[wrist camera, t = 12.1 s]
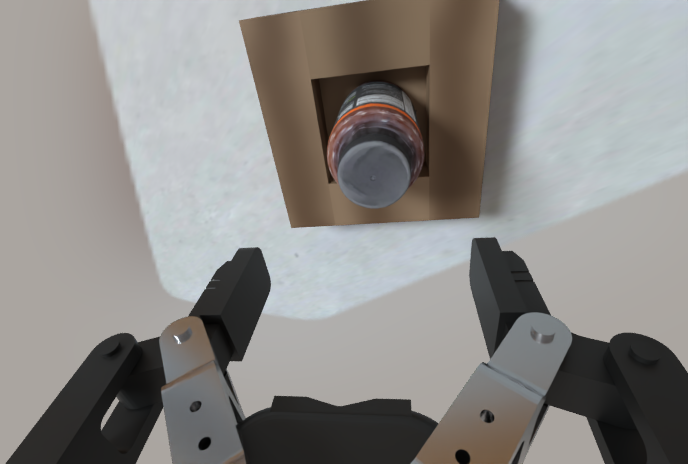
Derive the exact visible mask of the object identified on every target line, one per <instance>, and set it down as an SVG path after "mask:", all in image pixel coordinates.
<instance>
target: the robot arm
mask: <svg viewBox="0 0 688 464" xmlns="http://www.w3.org/2000/svg"><path fill="white" fill-rule="evenodd" d="M469 276H470V286H471V290H472V294H473V298H474V301H475V305H476V308H477V312H478V316H479V320H480V323H481V327H482V331H483V334H484V338H485V341H486V345H487V349H488V353H489V356H490V361H489V362H488V363H487V364H486V363H484V362H483V363H481V364H480V365H479V366H478V367H477V368H476V370H475V371H474V373H473V374H472V376H471V377H470V379H469V380H468V382H467V383H466V384H465V386H464V387H463V389H462V390H461V392H460V393H459V395H458V396H457V398H456V399H455V400H454V402H453V404H452V405H451V406H450V408H449V409H448V411H447V412H446V414H445V415H444V417H443V418H442V420H441V421H440V422H439V424H438V423H437V422H436V421H434V420H432V419H431V418H428V417H427V416H425V415H422V414H420V413H417V412H414V411H411V400H403V399H402V400H401V399H372V400H368V401H363V402H359V403H355V404H350V405H346V406H334V405H331V404H328V403H325V402H321V401H318V400H315V399H312V398H309V397H293V396H274V399H273V402H272V406H271V407H270V408H266V409H264V410H261V411H258V412H256V413H254V414H252V415H251V416H249V417H247V418H245V416H244V414H243V411H242V408H241V406H240V403H239V400H238V397H237V394H236V392H235V389H234V386H233V384H232V381H231V378H230V375H229V373H228V371H227V366H228V364H229V362H230V361H242V359H243V357H244V355H245V352H246V349H247V347H248V345H249V342H250V340H251V337H252V335H253V332H254V330H255V327H256V324H257V322H258V320H259V317H260V315H261V312H262V310H263V307H264V305H265V302H266V300H267V297H268V295H269V292H270V287H271V281H270V276H269V273H268V270H267V267H266V263H265V260H264V257H263V254H262V251H261V249H260V248H258V247H256V248H240V249H238V251H237V252H236V254H235V256H234V257H233V259H232V261H227V262H226V263H225V264H223V265H222V266H221V267H220V268H219V269H218V270H217V271H216V272H215V274H214V276H213V277H212V279H211V281H210V282H209V284H208V285H207V287H206V289H205V290H204V292H203V293H202V295H201V296H200V298H199V300H198V301H197V303H196V304H195V306H194V308H193V309H192V311H191V313H190V314H189V316H188V317H184V318H181V319H178V320H176V321H174V322H173V323H171V325H169V326H168V327H167V328H166V329H165V330H164V331H163V332H162V334H161V336H160V337H157V338H153V339H149V340H145V341H141V342H137V341H136V339H135V338H134V336H132V335H131V334H129V333H120V334H117V335H114V336H111V337H110V338H107V339H105V340H104V341H102V342H101V343H100V344H99V345H97V346H96V347H95V348H94V349H93V351H92V352H91V353H90V354H89V356H88V357H87V358H86V360H85V361H84V362H83V363H82V365H81V366H80V367H79V369H78V370H77V371H76V372H75V374H74V375H73V377H72V378H71V379H70V380H69V382H68V383H67V384H66V386H65V387H64V388H63V389H62V391H61V392H60V393H59V395H58V396H57V397H56V399H55V400H54V401H53V402H52V404H51V405H50V406H49V408H48V409H47V410H46V412H45V413H44V414H43V415H42V417H41V418H40V420H39V421H38V422H37V423H36V425H35V426H34V427H33V428H32V430H31V431H30V432H29V434H28V435H27V436H26V438H25V439H24V440H23V442H22V443H21V444H20V445H19V447H18V448H17V449H16V451H15V452H14V453H13V455H12V456H11V457H10V458H9V460H8V461H7V462H6V464H136V462H137V460H138V458H139V455H140V454H141V451H142V449H143V447H144V445H145V443H146V441H147V439H148V437H149V435H150V433H151V431H152V429H153V427H154V425H155V423H156V421H157V419H158V417H159V415H160V413H161V411H162V409H163V407H164V413H165V419H166V426H167V431H168V438H169V445H170V451H171V457H172V463H173V464H523V462H524V459H525V457H526V455H527V453H528V450H529V448H530V446H531V444H532V442H533V440H534V438H535V436H536V434H537V431H538V429H539V427H540V425H541V423H542V421H543V419H544V417H545V415H546V412H547V410H548V408H549V406H554V407H557V408H560V409H563V410H566V411H569V412H573V413H576V414H579V415H582V416H585V417H587V420H588V422H589V425H590V427H591V430H592V432H593V435H594V437H595V440H596V443H597V445H598V448H599V450H600V453H601V455H602V458H603V460H604V463H605V464H688V373H687V371H686V370H685V368H684V367H683V366H682V364H681V363H680V361H679V360H678V358H677V357H676V356H675V354H674V353H673V352H672V351H671V350H670V349H669V348H667V347H666V346H665V345H663V344H662V343H660V342H659V341H657V340H655V339H653V338H650V337H647V336H644V335H641V334H636V333H621V334H618V335H615V336H614V337H613V338H612V339H611V340H610V343H607V342H603V341H599V340H594V339H590V338H586V337H582V336H578V335H576V334H573V333H571V332H570V330H569V329H568V327H567V326H566V325H565V324H564V323H563V322H561V321H560V320H559V319H557V318H555V317H553V316H551V314H550V312H549V311H548V309H547V306H546V304H545V302H544V300H543V298H542V296H541V294H540V292H539V291H538V288H537V286H536V284H535V282H533V278H532V276H531V274H530V273H529V270H528V268H527V266H526V264H525V262H524V260H522V258H520V257H519V256H518V255H517V254H515V253H514V252H513V251H502V250H501V248H500V246H499V243H498V241H497V239H496V238H495V237H493V238H473V240H472V247H471V259H470V274H469ZM115 397H117V398H118V399H119V402H118V404H117V406H116V407H115V409H114V411H113V412H112V414H111V416H110V417H109V419H108V421H107V422H106V424H105V426H104V427H103V429H102V431H101V422H102V419H103V417H104V415H105V414H106V412H107V410H108V409H109V407H110V406H111V404H112V402H113V401H114V399H115Z"/></svg>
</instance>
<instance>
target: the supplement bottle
mask: <svg viewBox="0 0 688 464" xmlns="http://www.w3.org/2000/svg"><path fill="white" fill-rule="evenodd" d="M416 111H417V110H416ZM416 111H415V109H414V106H413V104H412V102H411V100H410V98H409V97H408V95H407V94H406V93H405V91H403V90H402V89H401V88H400V87H399V86H397V85H396V84H393V83H391V82H388V81H383V80H375V81H369V82H365V83H363V84H361V85H359V86H358V87H356V88H355V89H354V90H353V91H351V93H350V94H349V95H348V96H347V98H346V99H345V101H344V102H343V104H342V106H341V109H340V112H339V114H338V117H337V119H336V122H335V124H334V127H333V129H332V132H331V135H330V138H329V141H328V146H327V161H328V166H329V169H330V172H331V174H332V176H333V178H334V180H335V181H336V182H337V184H338V185H339V186H340V189H341V190H342V192H343V193H344V195H345V196H346V197H347V198H348V199H349V200H350V201H352V202H353V203H355V204H357V205H359V206H362V207H365V208H371V209H373V208H374V209H377V208H384V207H387V206H390V205H391V204H393V203H395V202H397V201H398V200H399V199H400V198H401V197H402V196H403V195H404V194H405V192H406V191H407V189H408V188H409V187H411V186H412V185H413V183H414V182H415V181H416V179H417V177H418V175H419V174H420V171H421V169H422V166H423V162H424V144H423V138H422V135H421V131H420V128H419V123H418V120H417V116H416Z"/></svg>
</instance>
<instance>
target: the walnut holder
mask: <svg viewBox="0 0 688 464" xmlns="http://www.w3.org/2000/svg"><path fill="white" fill-rule="evenodd" d="M498 11H499V0H365V1H359V2H353V3H346V4H340V5H333V6H327V7H320V8H314V9H307V10H301V11H294V12H288V13H281V14H275V15H268V16H262V17H256V18H251V19H245V20H240V21H239V23H240V27H241V31H242V35H243V39H244V42H245V46H246V50H247V54H248V58H249V62H250V66H251V70H252V74H253V78H254V82H255V86H256V90H257V94H258V98H259V102H260V106H261V110H262V114H263V118H264V121H265V125H266V129H267V133H268V137H269V141H270V145H271V149H272V153H273V157H274V161H275V165H276V169H277V173H278V177H279V181H280V185H281V189H282V193H283V197H284V201H285V204H286V208H287V212H288V216H289V220H290V224H291V228H298V227H316V226H334V225H352V224H370V223H388V222H406V221H424V220H442V219H460V218H478V217H479V212H480V202H481V191H482V180H483V170H484V159H485V149H486V138H487V127H488V117H489V106H490V96H491V85H492V74H493V64H494V53H495V43H496V32H497V21H498ZM375 80H383V81H388V82H391V83H393V84H396V85H397V86H399V87H400V88H401V89H402V90H403V91H405V93H406V94H407V95H408V97H409V98H410V100H411V102H412V104H413V106H414V109H415V111H416V110H417V111H416V116H417V120H418V123H419V128H420V131H421V135H422V138H423V144H424V162H423V166H422V169H421V171H420V174H419V175H418V177H417V179H416V181H415V182H414V183H413V185H412V186H411V187H409V188H408V189H407V191H406V192H405V194H404V195H403V196H402V197H401V198H400V199H399V200H398V201H397V202H395V203H393V204H391V205H390V206H387V207H384V208H377V209H374V208H373V209H371V208H365V207H362V206H359V205H357V204H355V203H353V202H352V201H350V200H349V199H348V198H347V197H346V196H345V195H344V193H343V192H342V190H341V189H340V186H339V185H338V184H337V182H336V181H335V180H334V178H333V176H332V174H331V172H330V169H329V166H328V161H327V146H328V141H329V138H330V135H331V132H332V129H333V127H334V124H335V122H336V119H337V117H338V114H339V112H340V109H341V106H342V104H343V102H344V101H345V99H346V98H347V96H348V95H349V94H350V93H351V91H353V90H354V89H355V88H356V87H358V86H359V85H361V84H363V83H365V82H369V81H375Z"/></svg>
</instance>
